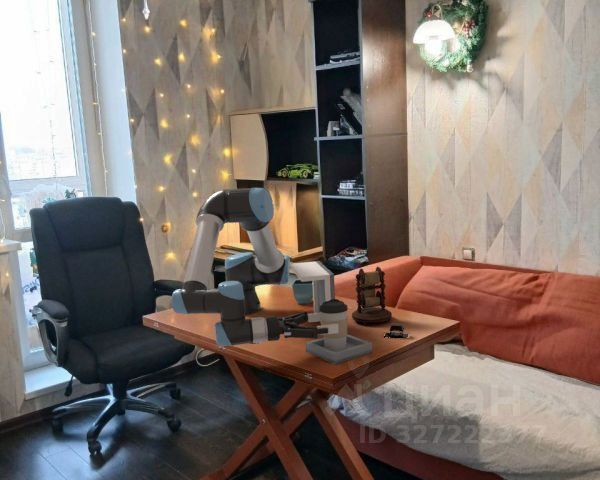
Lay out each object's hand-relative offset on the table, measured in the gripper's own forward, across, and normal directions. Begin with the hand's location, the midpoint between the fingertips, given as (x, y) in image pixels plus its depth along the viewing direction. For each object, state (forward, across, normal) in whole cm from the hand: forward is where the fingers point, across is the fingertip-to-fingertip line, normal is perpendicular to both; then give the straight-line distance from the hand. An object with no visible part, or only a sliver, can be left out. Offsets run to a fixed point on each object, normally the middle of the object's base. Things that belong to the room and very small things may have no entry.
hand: (332, 322), depth 184 cm
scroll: (+21, -29, -10) cm, 37 cm away
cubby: (-1, -24, -10) cm, 26 cm away
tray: (+2, 0, -10) cm, 10 cm away
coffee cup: (+1, -2, -9) cm, 9 cm away
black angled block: (+24, -9, -11) cm, 28 cm away
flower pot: (+2, -63, -10) cm, 64 cm away
